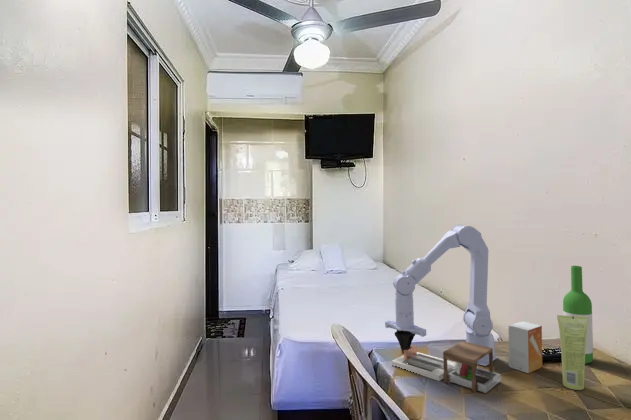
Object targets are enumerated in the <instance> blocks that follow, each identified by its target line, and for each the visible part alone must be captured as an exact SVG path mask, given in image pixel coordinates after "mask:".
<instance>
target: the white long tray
mask: <svg viewBox="0 0 631 420" xmlns="http://www.w3.org/2000/svg"><path fill="white" fill-rule="evenodd" d="M417 347H418V346H417V345H416V344H413V345H411V346H410V347H409V348H407V349H404V354H403V355H404V359H405V360H408V359H410V358H411V359H414V360H417V361H421V362H424V363H427V364H431V365H434V366H437V367H441V368H444V363H442V362H438V361H435V360H431V359H428V358H424V357H421V356H417V352H418V351H417V350H418V348H417ZM480 368H481V367H477V369H476V372H478V373H480V374H477V373H476V376H477V377H480V378H481V377H482V378H484V379H488V380H487V381H486V382H485V383H481V382H479V381H476V391H477V392H482V393H484V394H486V393H488V392H489V391H490V390H491V389H493V388H494V387H496V386H497V385H498V384H499V383H500V382H501V374H500V373H498V372H494V371H493V372H491V371H489V370H487V369H483V368H481V369H480ZM447 370H451V371H452V372H450V373H449V374H448V382H450V383H452V384H453V383H454V384H457V385H459V386H462V387H466V388H468V389H472V380H469V379H466V378H463V377H461V376H459V375H460V374H458V373H457V372H456V371H455V366H452V365H448V364H447ZM460 370H461V367H460ZM482 373H483V375H482V376H481V374H482Z"/></svg>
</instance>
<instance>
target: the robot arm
mask: <svg viewBox="0 0 631 420" xmlns="http://www.w3.org/2000/svg"><path fill="white" fill-rule="evenodd" d="M461 247H463V248H464V249H465V250H466V251H467V252H468V253H469V254H470V269H469V275H470V276H469V299H468V303H467V304H466V309H465V312H464V313H463V316H462V318H463V319H462V320H463V322H464V325H466V329H465V340H466V341H465V342H468V343H472V344H477V345H481V346H485V347H489V348H493V362H494V361H496V359H498V356H497V355H495V337H494V335H493V333H492V331H493V327H494V325H493V321H492V319H491V312H490V309H489V307H488V303H487V302H488V296H487V295H488V279H489V278H488V275H489V273H488V272H489V248H488V246H487V244H486V242H485V240H484V239H483V237H482V233H481V232H480V231H479V230H478V229H476V228H475V227H473V226H471V225H463V224H457V225H454V226H453V227H451V229H450V230H448V231H447V232H446V233H445V234H444V235H443V236H442V237H441V239H440V240H438V241H437V243H435V244H434V246H432V248H431V249H430V250H428V252H427V253H426V254H425V255H424V257H417V258H416V259H412V260H411V261H410V262H411V264H410V265H409V266H408V267H407V268H406V269H405V270H401V274H398V275H397V276H395V278H394V279H393V280H394V281H393V284H392V285H393V287H394V289H395V294H394V295H395V300H394V301H395V302H394V303H395V305H394V307H395V321H393V320H392V321H391V320H387V321H384V326H385V328H386V329H388V328H389V329H393V330H395V331H394V336H395V337H396V339H397V341H398V344H399V347H400V349H401V354H402V355H404V349H407V348H409V347H411V346H412V342H413V340H414V338H415V336H416V335H418V336H420V337H423V338H424V337H425V336H427V329H426V328H423V327H420V326H418V325H416V324H415V321H414V319H415V318H414V313H415V312H414V297H413V296H414V295H413V293H414V291H415V289H416V285H418V284H419V283H420V282H421V281H422V280H423V279H424V278H425V277H426V276H427V275H428V274H429V273H430V272H432V271H431V270H432V265H433V264H434V263H435V262H436V261H437V260H439V258H441V257H442V256H443V255H444V254H445V253H446V252H447V251H449V250H450V249H455V248H461ZM478 363H479V364H478ZM477 364H478V366H482V367H487V366H489V354H487V355H486V356H484V357H483V358H481V359H480V360H478V361H477Z"/></svg>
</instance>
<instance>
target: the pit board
mask: <svg viewBox="0 0 631 420" xmlns="http://www.w3.org/2000/svg"><path fill="white" fill-rule="evenodd" d="M417 356H421V357H424V358H428V359H431V360H435V361H438V362H442V363H444V362H443V358H441V357H436V356H434V355H429V354H426V353H422V352H419V351H417ZM407 363H408V364H407ZM455 363H456V362H455V361H452V360H448V359H447V364H448V365H452V366H455V365H454V364H455ZM392 365H393V367H395V366H397V367H396V368H398V367H400V368H399V369H401V368H402V369H401V370H404V369H406V370H405V371H407V370H408V371H407V372H410V371H411V373H413V372H414V374H416V373H417V375H419V374H420V376H423V377H425V378H429V379H432V380H435V381H438V382H440V381H442V380H444V368H441V367H437V366H434V365H431V364H427V363H424V362H421V361H417V360H414V359H411V358H410V359H408V360H405V359H404V354H402V355H401V356H399V357H397V358H395V359H393V360H391V366H392ZM447 372H448V374H449V373H450V372H452V371H451V370H447Z"/></svg>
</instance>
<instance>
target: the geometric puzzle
mask: <svg viewBox="0 0 631 420" xmlns="http://www.w3.org/2000/svg"><path fill="white" fill-rule="evenodd" d="M475 364H476V369H477V368H478V366H479V363H478V364H477V362H475ZM454 365H455V371H456V372H457V373H458V374H460V375H459V376H460V377H463V378H466V379H469V380H472V366H469V365H466V364H462V363H459V362H455V364H454ZM460 367H461V370H460ZM479 368H480V369H482V367H479ZM476 373H477V374H480V373H478V372H476ZM482 375H483V373H482V374H481V376H482ZM481 376H480V377H481ZM477 378H478V376H477V377H476V381H477V380H479V378H478V379H477Z"/></svg>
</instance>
